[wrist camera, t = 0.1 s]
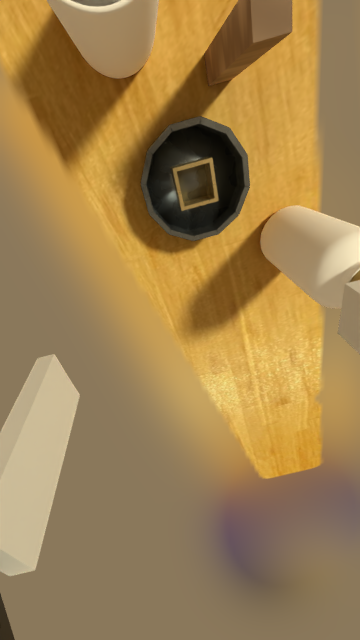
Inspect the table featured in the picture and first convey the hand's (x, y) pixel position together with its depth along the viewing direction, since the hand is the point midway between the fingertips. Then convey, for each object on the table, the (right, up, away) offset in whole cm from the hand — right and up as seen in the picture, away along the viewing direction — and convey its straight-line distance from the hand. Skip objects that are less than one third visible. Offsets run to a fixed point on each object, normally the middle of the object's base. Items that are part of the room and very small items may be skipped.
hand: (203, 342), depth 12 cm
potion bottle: (+14, +14, +27) cm, 33 cm away
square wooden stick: (+3, +28, +16) cm, 32 cm away
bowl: (0, +18, +22) cm, 28 cm away
